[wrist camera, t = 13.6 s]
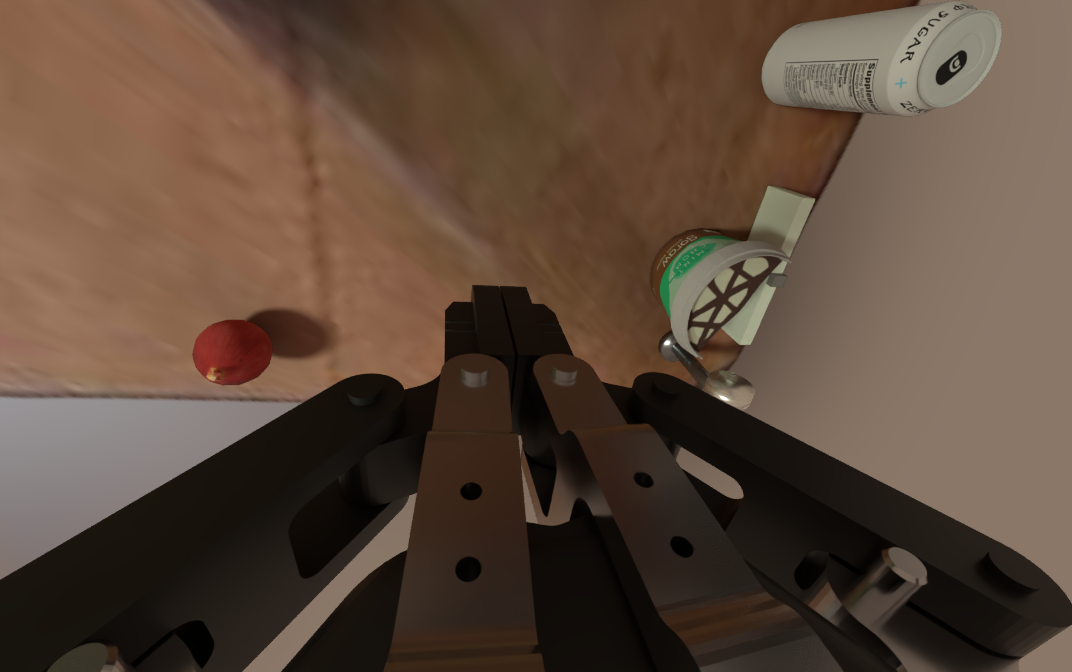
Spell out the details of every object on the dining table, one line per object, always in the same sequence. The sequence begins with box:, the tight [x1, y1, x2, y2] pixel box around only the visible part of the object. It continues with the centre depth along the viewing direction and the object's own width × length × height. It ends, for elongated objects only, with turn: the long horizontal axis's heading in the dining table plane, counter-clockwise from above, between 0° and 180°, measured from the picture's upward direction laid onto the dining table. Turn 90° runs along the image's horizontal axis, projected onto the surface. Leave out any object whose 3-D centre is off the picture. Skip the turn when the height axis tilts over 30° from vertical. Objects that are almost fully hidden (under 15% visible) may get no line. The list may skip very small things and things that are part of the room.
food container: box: [650, 228, 792, 359], centre depth 41 cm, size 12×6×10 cm, turn 146°
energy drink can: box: [762, 0, 1002, 117], centre depth 31 cm, size 6×6×15 cm
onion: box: [192, 320, 273, 385], centre depth 38 cm, size 6×6×8 cm
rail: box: [721, 186, 815, 345], centre depth 45 cm, size 16×1×6 cm, turn 173°
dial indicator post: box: [658, 331, 755, 411], centre depth 46 cm, size 4×4×13 cm
